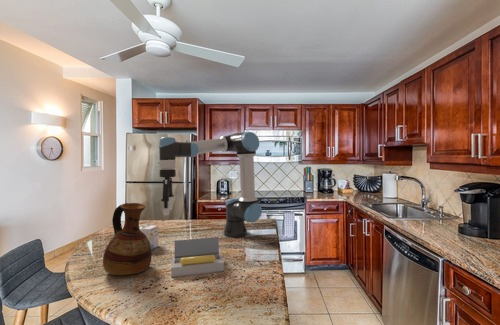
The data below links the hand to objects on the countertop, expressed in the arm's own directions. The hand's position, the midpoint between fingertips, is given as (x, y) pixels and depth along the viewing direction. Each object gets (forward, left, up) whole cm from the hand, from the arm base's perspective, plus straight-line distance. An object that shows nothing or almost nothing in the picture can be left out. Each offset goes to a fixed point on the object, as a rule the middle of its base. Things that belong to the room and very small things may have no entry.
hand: (168, 212), depth 132 cm
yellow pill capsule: (-13, +19, -18) cm, 29 cm away
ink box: (+13, -22, -23) cm, 34 cm away
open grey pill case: (-13, +14, -23) cm, 30 cm away
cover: (-13, +11, -15) cm, 23 cm away
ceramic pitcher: (+17, +9, -23) cm, 30 cm away
